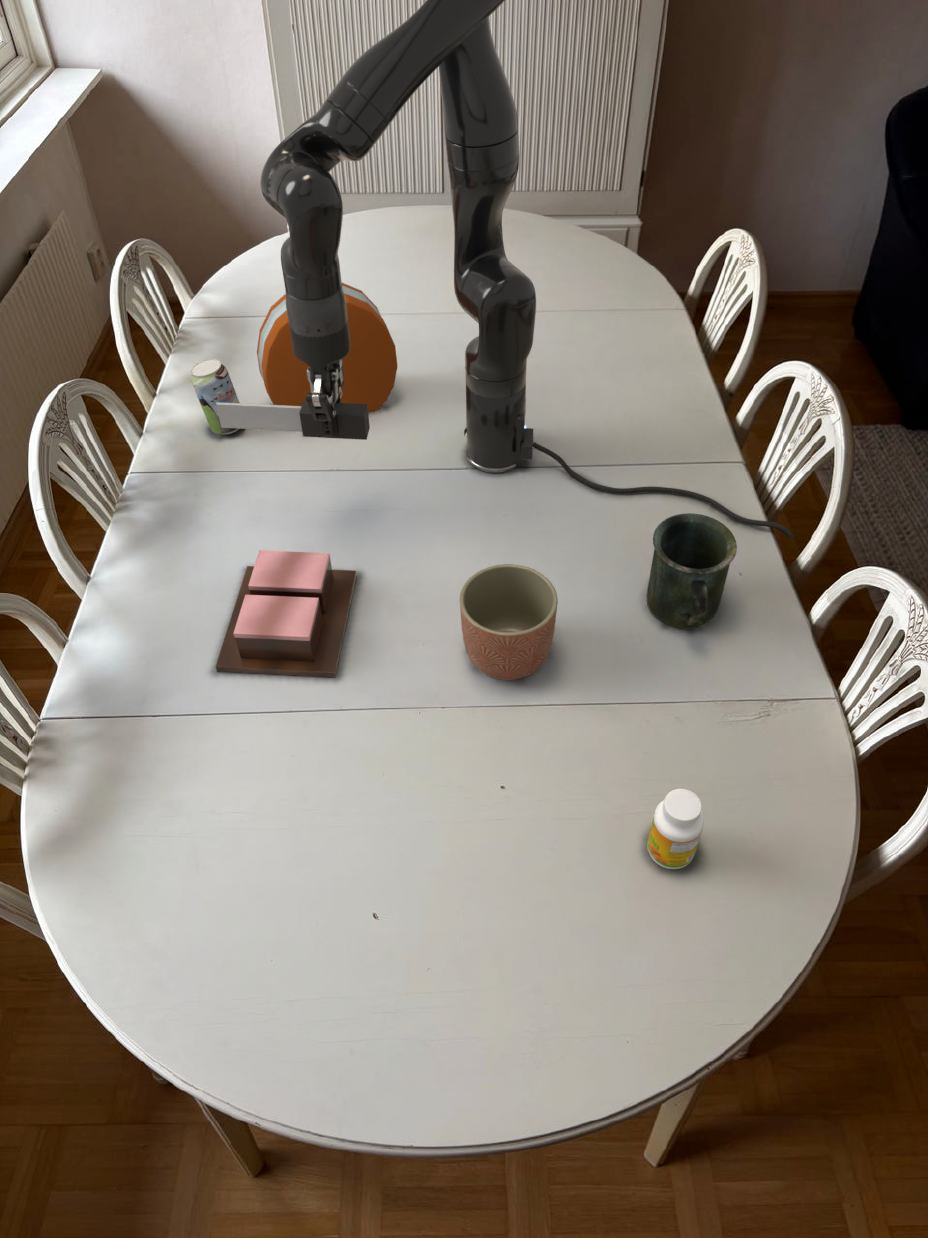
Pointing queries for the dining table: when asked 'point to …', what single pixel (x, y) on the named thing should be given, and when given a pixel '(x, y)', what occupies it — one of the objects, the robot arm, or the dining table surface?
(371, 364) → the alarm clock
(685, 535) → the mug
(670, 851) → the supplement bottle
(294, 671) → the cake
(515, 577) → the planter
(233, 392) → the beverage can
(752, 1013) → the dining table surface
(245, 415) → the knife
